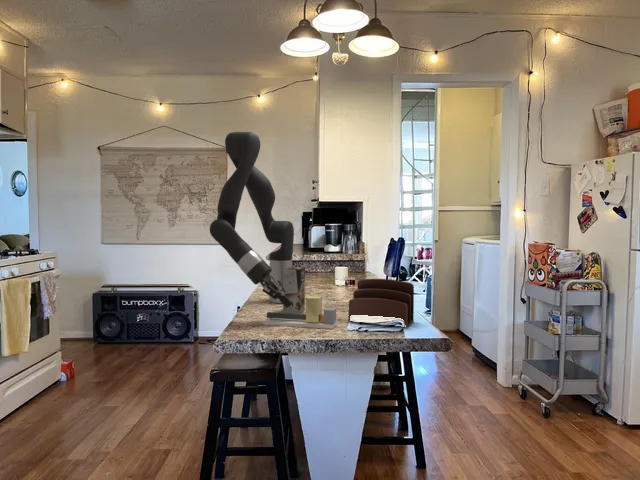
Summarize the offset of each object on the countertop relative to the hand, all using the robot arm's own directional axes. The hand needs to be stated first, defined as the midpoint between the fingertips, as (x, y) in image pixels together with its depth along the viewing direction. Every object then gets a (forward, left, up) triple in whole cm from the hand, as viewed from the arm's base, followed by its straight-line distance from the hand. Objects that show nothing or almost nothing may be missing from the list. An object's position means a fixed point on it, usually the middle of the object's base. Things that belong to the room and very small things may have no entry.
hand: (289, 305), depth 147 cm
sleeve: (0, +8, -4) cm, 9 cm away
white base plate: (0, +4, -6) cm, 7 cm away
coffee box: (-19, -4, -6) cm, 20 cm away
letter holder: (-10, +29, -6) cm, 31 cm away
